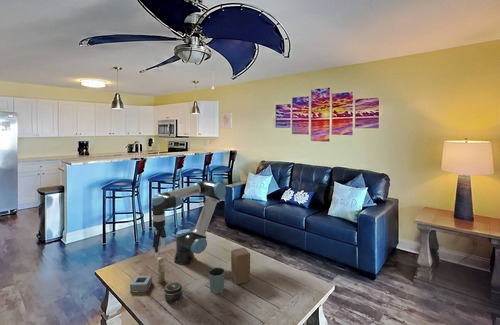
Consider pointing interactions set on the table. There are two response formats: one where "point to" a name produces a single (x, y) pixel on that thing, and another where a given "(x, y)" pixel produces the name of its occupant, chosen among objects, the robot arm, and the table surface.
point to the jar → (173, 291)
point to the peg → (161, 270)
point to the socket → (140, 283)
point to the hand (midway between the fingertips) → (160, 251)
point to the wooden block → (240, 266)
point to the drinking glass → (216, 280)
